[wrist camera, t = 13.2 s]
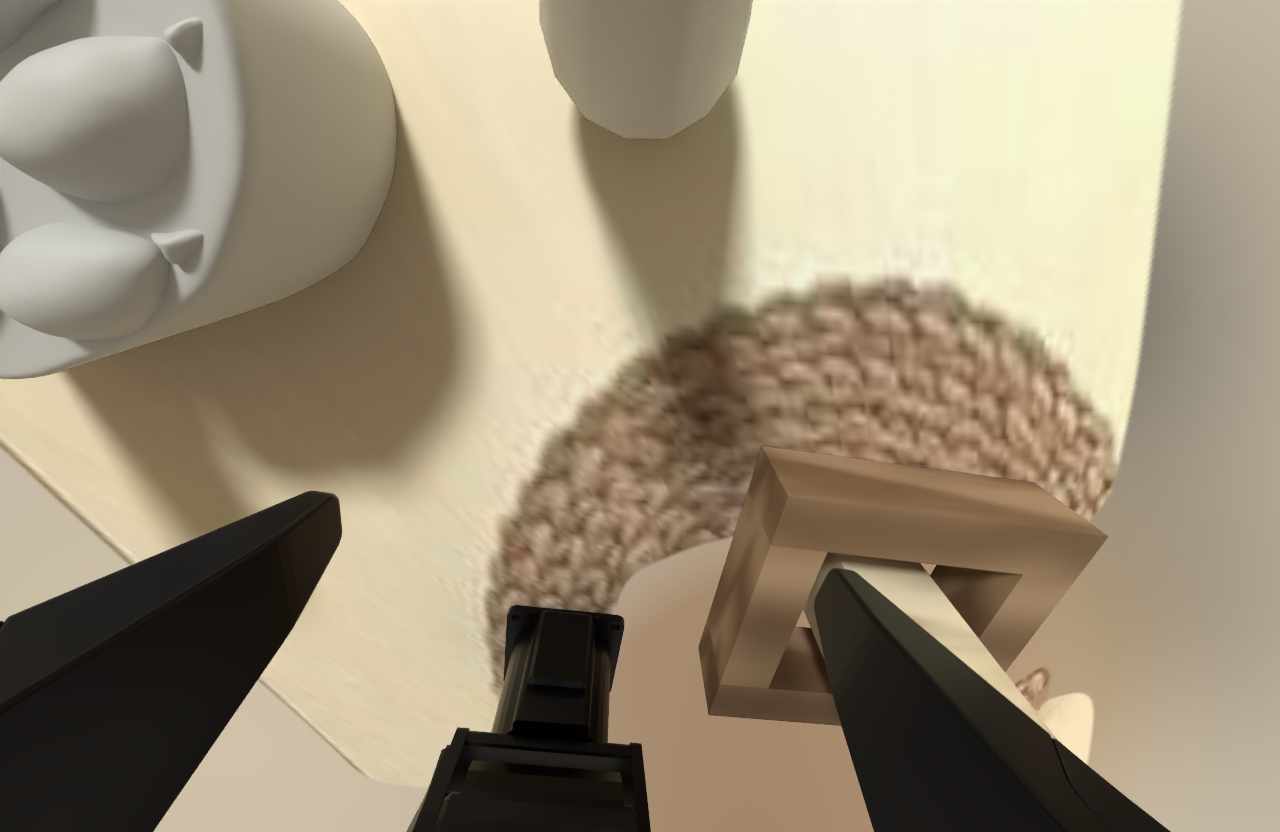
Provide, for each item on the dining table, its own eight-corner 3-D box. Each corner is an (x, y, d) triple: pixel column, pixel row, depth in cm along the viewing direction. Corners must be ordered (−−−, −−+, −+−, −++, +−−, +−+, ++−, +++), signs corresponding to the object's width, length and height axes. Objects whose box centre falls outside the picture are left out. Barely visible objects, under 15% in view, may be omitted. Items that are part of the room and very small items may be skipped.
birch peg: (873, 604, 27) (997, 816, 18) (798, 596, 26) (886, 808, 17) (905, 544, 25) (1062, 746, 16) (825, 534, 24) (939, 736, 15)
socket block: (916, 667, 29) (957, 734, 26) (698, 647, 28) (708, 715, 24) (1033, 482, 23) (1108, 536, 20) (762, 446, 22) (788, 496, 18)
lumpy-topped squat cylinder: (-59, 58, 15) (-795, -81, 7) (261, -164, 13) (-284, -685, 5) (194, 344, 19) (-100, 448, 12) (464, 210, 17) (329, 227, 10)
